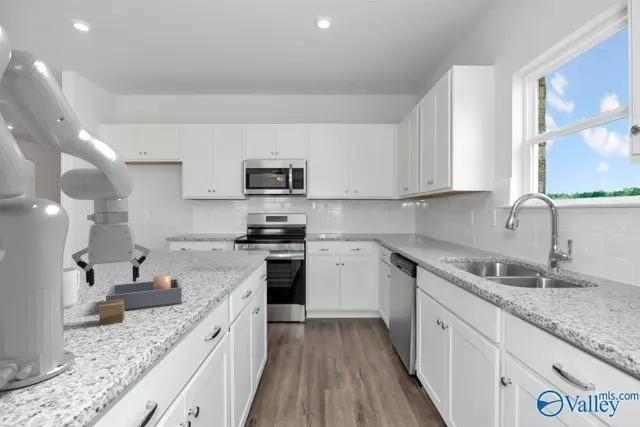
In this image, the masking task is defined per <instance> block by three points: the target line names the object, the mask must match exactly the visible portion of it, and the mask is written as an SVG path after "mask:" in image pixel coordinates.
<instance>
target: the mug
mask: <svg viewBox="0 0 640 427" xmlns="http://www.w3.org/2000/svg"><path fill="white" fill-rule="evenodd" d="M80 272H81V271H80V270H78V268H75V267H63V310H66V309H71V308H73V307H74V306H76V304H77V303H78V301H79V296H78V295H79V293H78V292H79V291H78V290H79V289H80V276H81V275H80V274H81V273H80Z"/></svg>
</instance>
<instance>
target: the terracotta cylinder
mask: <svg viewBox="0 0 640 427" xmlns="http://www.w3.org/2000/svg"><path fill="white" fill-rule="evenodd" d="M152 279H153V290H161V289H170V288H171V279H172V277H171V275H169V274H163V275H156V276H153V277H152Z"/></svg>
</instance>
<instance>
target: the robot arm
mask: <svg viewBox="0 0 640 427" xmlns="http://www.w3.org/2000/svg"><path fill="white" fill-rule="evenodd" d="M67 98H68V97H66V95H65V93H64V92H63V90H62V88H61V86H60V85H59V82H58V81H57V79H56V77H55V76H54V74H53V72H52V70H51V68H50V67H49V66H48V64H47V63H46V61H44V59H42V58H41V57H40V56H38V55H37V54H34V53H31V52H28V51H24V50H20V49H19V50H18V49H12V44H11V41H10V38H9V35H8V33H7V31H6V30H5V28H4V27H3V26H2V25H1V23H0V101H4V102H6V103H7V104H8V105H9V106H10V108H11V109H12V110H13V112H14V113H15V114H16V116H17V117H18V118H19V120H20V121H21V123H22V124H23V126H24V127H25V129H26V130H27V132H29V134H30V135H31V137H32V139H34V141H36V142H37V143H38V144H40V145H41V146H44V147H46V148H49V149H51V150H54V151H57V152H60V153H63V154H65V155H69V156H72V157H75V158H78V159H81V160H83V161H85V162H88V163H89V164H91V165H92V166H94V167H95V168H94V167H93V168H92V167H91V168H88V167H87V168H83V167H82V168H72V169H69V170H67V171H66V172H64V173H63V174H62V176H61V177H60V179H59V187H60V189H61V190H60V191H62V193H63V194H64V195H65V196H67V197H68V198H70V199H73V200H79V201H93V213H92V214H87V216H86V219H87V221H91V222H93V223H94V224H91V225H90V227H89V232H88V243H87V244H88V246H87V247H85V248H83V249H81V250H79V251H76V252H75V253H73V254H71V259H73V261H74V262H75V263H76V265H77V266H78V267H79V268H81V269H82V270H83V271H84V272H85V283H86V284H88V287H93V286H94V285H95V269H94V266H95V265H101V264H113V263H124V262H125V263H126V262H129V263H130V264H132V268H131V269H132V282H133V283H137V279H139V278H140V266H141V265H142V264H143V263H144V262H145V260H146V259H147V257H149V256H148V255H149V254H150V251H151V250H150V248H148V247H146V246H142V245H141V244H137V243H135V235H134V228H133V225H132V223H130V221H129V201H128V200H129V199H128V198H129V196H131V194H132V192H133V189H134V182H133V178H132V175H131V172H130V170H129V168H128V166H127V164H126V162H125V160H124V159H123V157H122V155H121V154H120V153H119V151H118V150H117V149H116V148H114V147H113V146H112V145H111V144H109V142H107V141H105V140H104V139H103V138H102V137H100V136H99V135H97V134H96V133H94V132H93V131H91V130H89V129H88V128H86V127H85V126H84V125H83V124H82V123H81V121H80V120H79V118H78V116H77V114H76V112H75V111H74V109H73V108H72V106H71V103H70V102H69V100H68V99H67ZM33 185H34V175H33V172H32V169H31V168H30V165H29V163H28V161H27V159H26V157H25V155H24V154H23V152H22V150H21V148H20V146H19V145H18V142H17V141H16V139H15V137H14V135H13V134H12V132H11V130H10V128H9V126H8V124H7V121H6V120H5V118H4V116H3V114H2V111H1V110H0V252H4V254H3V256H2V257H1V259H0V391H7V390H12V389H14V390H15V389H18V388H23V387H26V386H27V387H28V386H31V385H34V384H37V383H41V382H42V381H46V380H48V379H51V378H53V377H55V376H57V375H59V374H61V373H63V372H65V371H66V370H68V369H69V368H70V367H71V366H72V365H74V362H75V354H74V352H72V351H69V350H65V333H64V331H65V327H64V326H65V323H64V322H65V321H64V318H65V317H64V316H65V315H64V309H63V268H64V254H65V253H64V252H65V248H66V242H67V238H68V233H69V228H70V218H69V214H68V212H67V210H66V209H65V208H64V207H63V205H61V204H60V203H58V202H56V201H54V200H51V199H48V198H42V197H32V196H31V197H29V196H26V197H25V196H23V197H20V196H22V195H25V194H26V193H28V192H29V191H30V190H31V189H32V187H33ZM136 251H139V252H142V254H141V256H140V257H139V258H138V259H137V257H135V256H136ZM86 254H87V257H88V258H87V259H88V262H86V261H84V260H83V259H82V256H84V255H86Z"/></svg>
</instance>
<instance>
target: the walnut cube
mask: <svg viewBox="0 0 640 427" xmlns="http://www.w3.org/2000/svg"><path fill="white" fill-rule="evenodd" d="M98 308H99V309H98V310H99V311H98V312H99V314H98V317H99V318H98V319H99V324H98V325H99V327H100V326H101V325H102V326H107V325H108V324H109V325H115V324H114V323H116V324H122V323H124V320H125V311H124V299H119V300H111V301H106V300H104V301H101V302H100V305H99V306H98ZM109 325H108V326H109Z"/></svg>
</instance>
